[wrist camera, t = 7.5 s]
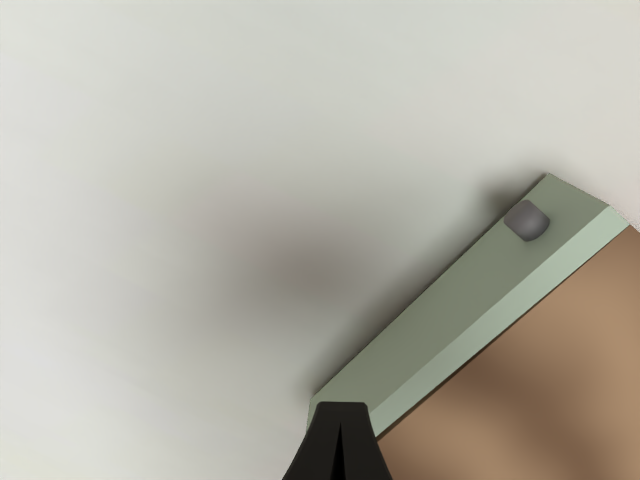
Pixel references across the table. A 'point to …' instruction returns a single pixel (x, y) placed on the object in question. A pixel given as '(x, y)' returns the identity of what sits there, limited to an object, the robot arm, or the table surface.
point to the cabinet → (540, 389)
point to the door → (475, 299)
